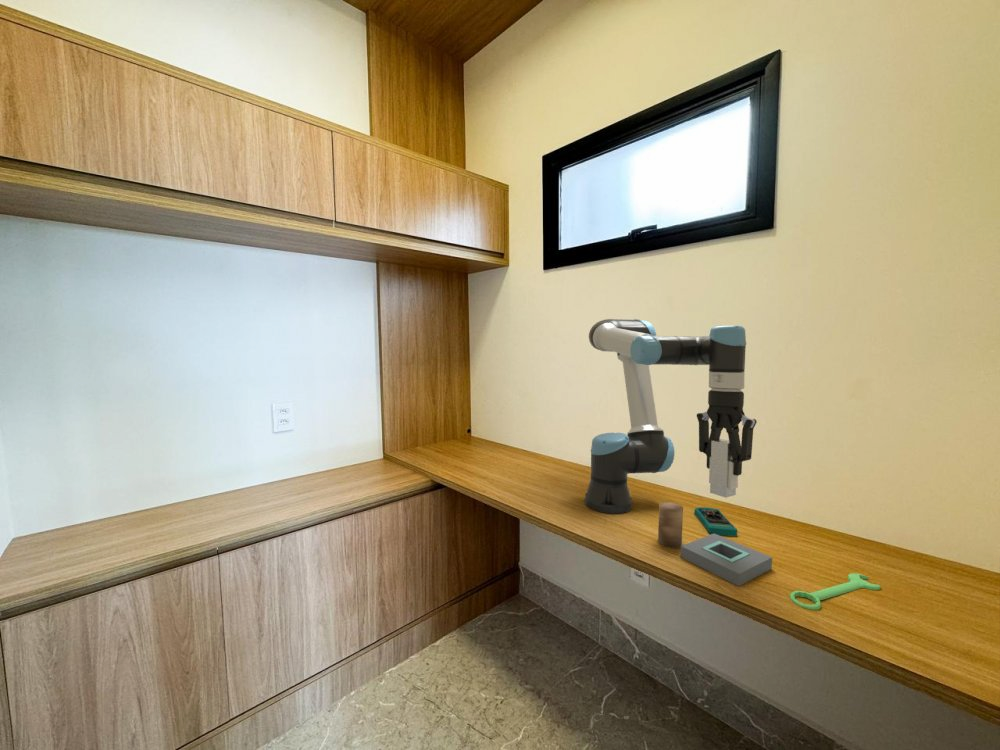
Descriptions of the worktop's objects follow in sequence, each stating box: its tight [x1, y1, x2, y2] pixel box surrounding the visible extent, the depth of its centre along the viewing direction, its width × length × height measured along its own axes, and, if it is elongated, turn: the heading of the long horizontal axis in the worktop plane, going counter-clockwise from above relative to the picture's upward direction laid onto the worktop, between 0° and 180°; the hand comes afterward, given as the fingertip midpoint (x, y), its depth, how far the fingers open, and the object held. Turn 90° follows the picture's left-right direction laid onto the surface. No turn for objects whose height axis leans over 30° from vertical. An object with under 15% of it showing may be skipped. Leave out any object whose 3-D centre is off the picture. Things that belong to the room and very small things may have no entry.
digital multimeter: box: [694, 506, 738, 537], centre depth 117 cm, size 7×15×3 cm, turn 170°
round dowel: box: [657, 501, 684, 549], centre depth 105 cm, size 6×6×10 cm
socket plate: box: [680, 534, 773, 587], centre depth 95 cm, size 14×14×3 cm
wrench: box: [789, 572, 881, 611], centre depth 84 cm, size 25×2×5 cm
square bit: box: [709, 438, 737, 498], centre depth 97 cm, size 4×4×13 cm
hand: (723, 484), depth 97 cm, fingers closed on square bit, 4 cm apart
